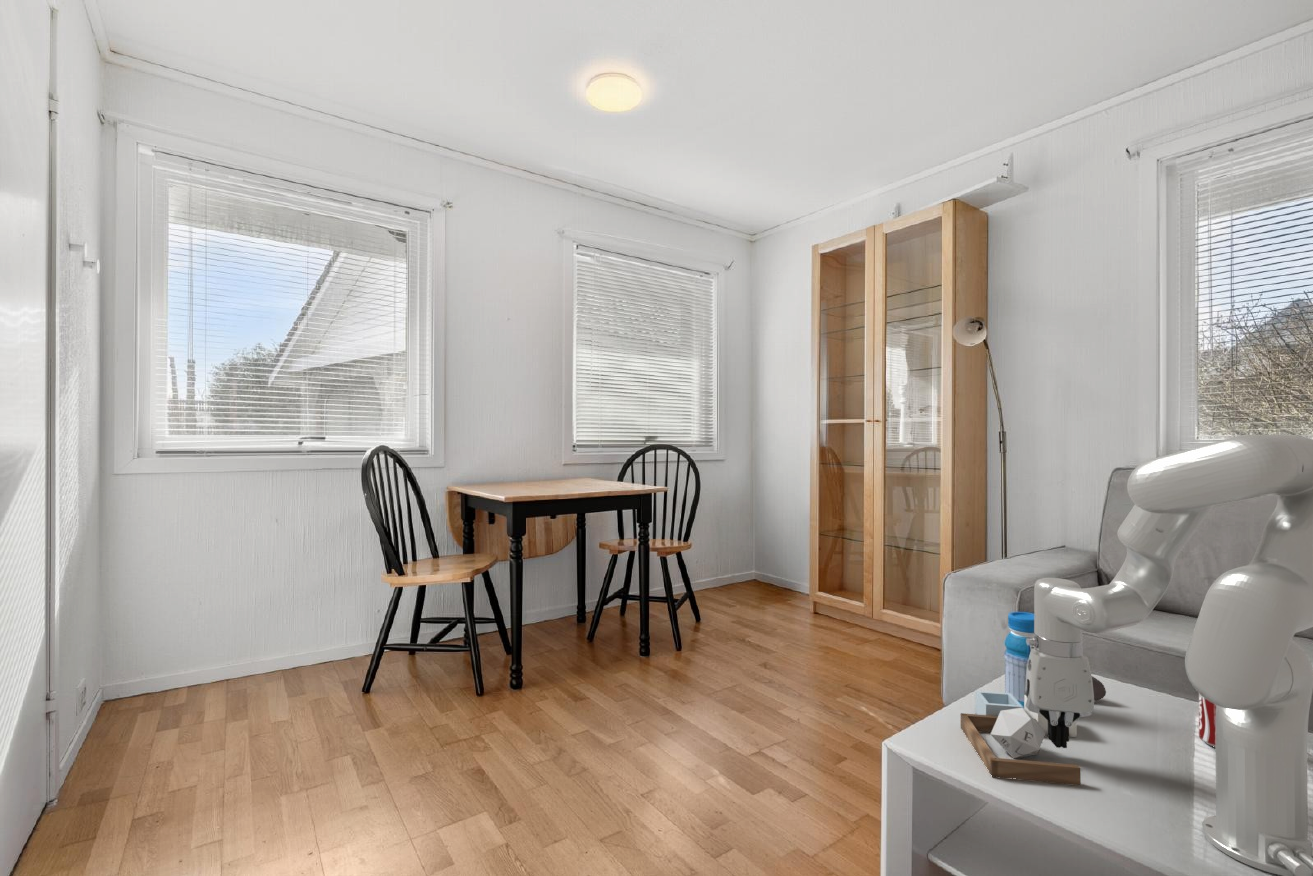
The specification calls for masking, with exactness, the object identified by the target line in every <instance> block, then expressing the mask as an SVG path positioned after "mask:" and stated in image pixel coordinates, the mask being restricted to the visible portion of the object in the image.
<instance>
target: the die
mask: <svg viewBox="0 0 1313 876" xmlns="http://www.w3.org/2000/svg"><path fill="white" fill-rule="evenodd" d="M1045 733H1046V730H1045V729H1044V728H1043V727H1042V726H1041V725H1040V724H1039V723H1038V722H1037V721H1036V720H1035V719H1034V718H1032V717H1031V716H1030V715H1029V714H1028V713H1027V712H1026V711H1025V710H1024V709H1023V708H1016V709H1009V710H1002V711H1000V713H999V716H998V718H997V720H996V723H995V725H994V727H993V730H992V732H990V736H991V737H992V738H993V739H994V741H996V742H997V743H998V744H999V745H1000V746H1001V747H1002V748H1003V749H1004V750H1005V751H1006V752H1007V754H1008V755H1009V756H1010V757H1012V759H1019V758H1025V757H1031V756H1035V755H1037V753H1038V752H1039V750H1040V749H1041V746H1042V743H1043V741H1044V737H1045Z"/></svg>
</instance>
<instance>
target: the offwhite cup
mask: <svg viewBox="0 0 1313 876" xmlns="http://www.w3.org/2000/svg"><path fill="white" fill-rule="evenodd" d="M1026 702H1027V697H1026V695H1024V710H1025V711H1026V712H1027V713H1028V714H1029V715H1030V716H1031V717H1032V718H1034V719H1036V720H1037V722H1038V723H1039V724H1040V725H1041V726H1042V727H1043V728H1044V729H1045V730H1046V733H1045V735H1046V736H1048V720H1047V719H1046V718H1045V717H1044V716H1043V715H1042V714H1038V713H1034V712H1031V711H1029V710H1028V709H1027V708H1026ZM1056 714H1057V720H1058V718H1059V711H1056ZM1077 720H1078V719H1076V720H1075V721H1074V722H1073V723H1072V726H1071V727H1069V738H1077V734H1078V733H1077V732H1078V731H1077V730H1078V728H1077V726H1078V725H1077V723H1078V721H1077ZM1045 735H1044V736H1045Z"/></svg>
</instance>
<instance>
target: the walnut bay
mask: <svg viewBox="0 0 1313 876" xmlns="http://www.w3.org/2000/svg"><path fill="white" fill-rule="evenodd" d="M997 718H998V716H990V715H977V714H975V713H962V712H961V713H960V729H961V730H963V731H962V732H963V734H964V733H965V734H964V735H966V736H965V737H966V739H967V738H968V739H967V740H968V742H969V741H970V742H971V743H970V742H969V743H970V745H971V744H972V745H971V747H972V746H973V747H974V748H973V747H972V748H973V749H975V750H976V751H975V750H974V751H975V753H976V752H977V753H978V754H977V753H976V754H977V756H978V755H979V756H980V758H981V759H980V758H979V759H980V761H981V760H982V761H983V762H984V764H983V766H984V765H985V766H986V767H987V769H988V770H989V772H988V773H989V775H990V774H991V775H992V777H991V778H994V777H1000V778H999V779H1005V778H1012V779H1011V780H1014V779H1013V778H1016V779H1021V780H1020V781H1026V780H1027V782H1040V783H1050V784H1058V785H1059V784H1060V785H1072V786H1080V787H1081V786H1082V785H1081V784H1082V783H1081V776H1082V774H1081V767H1080V766H1079V765H1078V764H1069V763H1060V762H1059V763H1058V762H1050V761H1049V762H1047V761H1037V760H1036V761H1035V760H1025V759H1016V758H1002V757H996V756H995V754H994V752H993V751H992V749H991V748H990V747H989V745H988V744H987V742H986V741H985V740H984V738H983V737H982V735H981V734H980V732H982V733H983V732H984V733H991V732H992V730H993V727H994V725H995V723H996V720H997ZM1035 720H1036V719H1035ZM1036 721H1037V720H1036ZM979 756H978V757H979ZM982 761H981V762H982ZM983 762H982V763H983ZM985 766H984V767H985ZM986 767H985V768H986ZM987 769H986V770H987ZM988 770H987V771H988ZM991 775H990V776H991ZM1016 779H1015V780H1016Z"/></svg>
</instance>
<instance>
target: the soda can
mask: <svg viewBox="0 0 1313 876" xmlns="http://www.w3.org/2000/svg"><path fill="white" fill-rule="evenodd" d="M1216 706H1217V705H1215V704H1213V703H1211V702H1210V701H1208V700H1207V699H1205V698H1204V697H1203V696H1201V695H1200V694H1199V693H1198V736H1199V739H1200V740H1201V741H1202V742H1204V743H1205V744H1206V745H1208V746H1210V747H1212V746H1214V747H1215V732H1216ZM1214 747H1213V748H1214Z"/></svg>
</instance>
